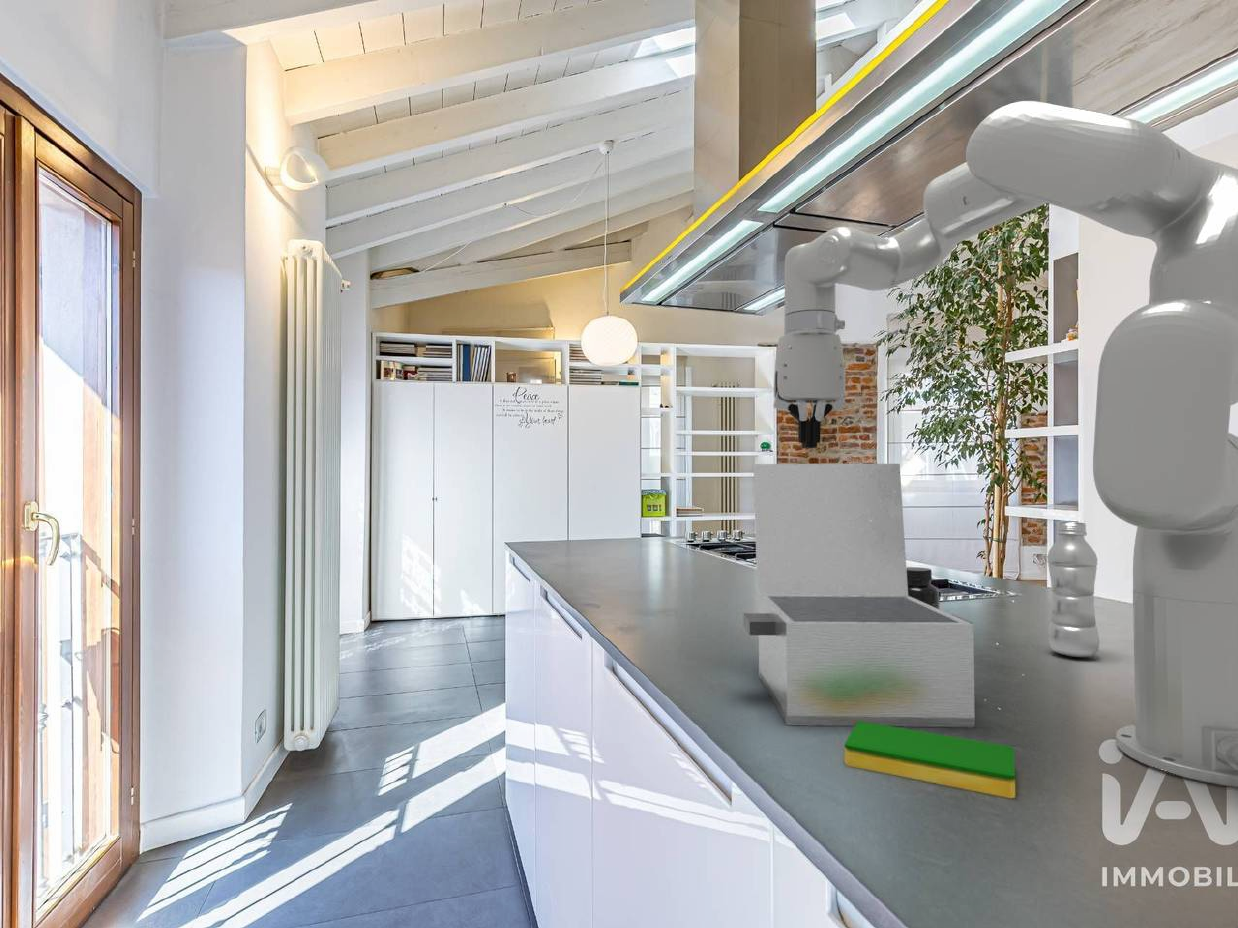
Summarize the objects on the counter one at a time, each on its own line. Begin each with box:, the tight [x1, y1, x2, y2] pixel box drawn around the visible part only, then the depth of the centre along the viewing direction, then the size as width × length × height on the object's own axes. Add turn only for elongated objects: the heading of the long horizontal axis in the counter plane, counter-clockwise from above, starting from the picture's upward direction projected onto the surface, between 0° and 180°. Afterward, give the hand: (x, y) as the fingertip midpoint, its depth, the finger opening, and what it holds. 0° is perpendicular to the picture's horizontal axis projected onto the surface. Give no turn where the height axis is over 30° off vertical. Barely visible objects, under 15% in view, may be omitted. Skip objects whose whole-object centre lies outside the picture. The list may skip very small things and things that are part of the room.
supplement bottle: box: [906, 566, 941, 610], centre depth 110 cm, size 7×7×12 cm
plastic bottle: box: [1046, 521, 1100, 658], centre depth 102 cm, size 6×7×20 cm
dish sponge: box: [844, 721, 1016, 799], centre depth 63 cm, size 7×14×2 cm, turn 60°
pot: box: [742, 595, 976, 728], centre depth 82 cm, size 18×26×11 cm
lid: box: [753, 463, 908, 596], centre depth 94 cm, size 18×20×3 cm
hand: (809, 447), depth 103 cm, fingers closed
